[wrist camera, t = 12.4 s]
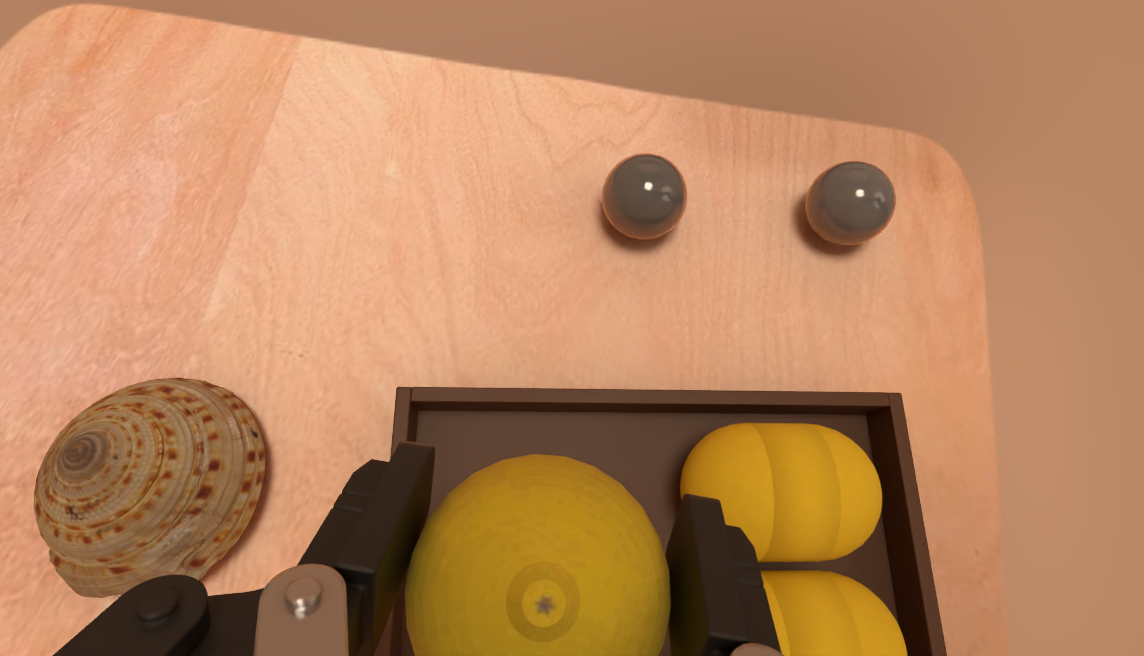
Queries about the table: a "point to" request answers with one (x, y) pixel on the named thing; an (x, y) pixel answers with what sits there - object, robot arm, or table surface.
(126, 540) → the seashell
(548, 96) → the table surface
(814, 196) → the glossy gray ball
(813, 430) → the yellow ribbed oblong body
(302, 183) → the table surface
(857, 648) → the yellow banded capsule
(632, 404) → the tray
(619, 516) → the lemon
